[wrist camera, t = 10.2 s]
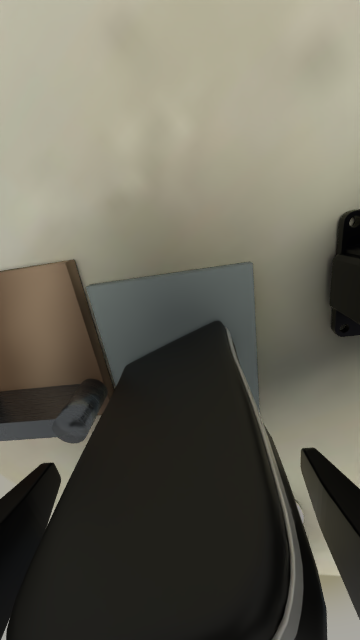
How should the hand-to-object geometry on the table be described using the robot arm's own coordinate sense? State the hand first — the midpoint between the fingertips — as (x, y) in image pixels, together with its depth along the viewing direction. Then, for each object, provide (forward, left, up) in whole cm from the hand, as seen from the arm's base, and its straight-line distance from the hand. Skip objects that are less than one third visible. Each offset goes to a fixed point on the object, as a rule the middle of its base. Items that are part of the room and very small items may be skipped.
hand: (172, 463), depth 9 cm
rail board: (+11, -2, -7) cm, 13 cm away
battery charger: (0, 0, -7) cm, 7 cm away
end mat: (0, 0, -7) cm, 7 cm away
